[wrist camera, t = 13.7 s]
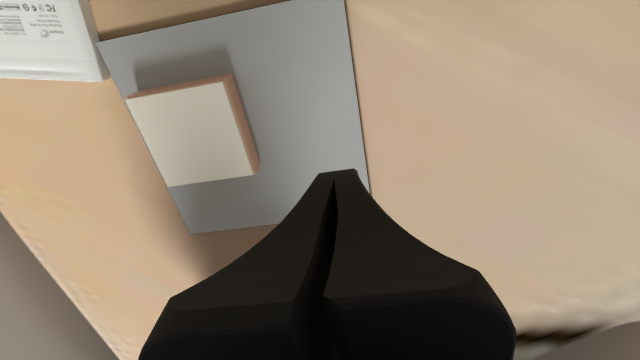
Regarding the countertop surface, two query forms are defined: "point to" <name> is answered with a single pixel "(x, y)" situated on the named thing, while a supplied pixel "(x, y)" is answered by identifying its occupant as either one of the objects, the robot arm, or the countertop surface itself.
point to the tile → (196, 130)
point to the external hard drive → (50, 41)
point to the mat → (259, 101)
